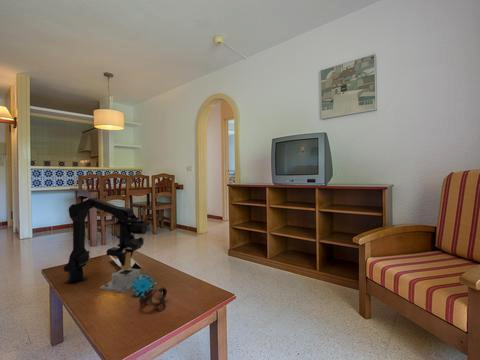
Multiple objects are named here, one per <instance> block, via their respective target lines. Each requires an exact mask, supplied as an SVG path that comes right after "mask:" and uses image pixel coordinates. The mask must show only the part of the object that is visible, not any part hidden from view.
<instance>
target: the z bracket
mask: <svg viewBox="0 0 480 360" xmlns="http://www.w3.org/2000/svg"><path fill="white" fill-rule="evenodd" d="M109 257H110V258H111V259H112V260H113V262H114V263H115V264H117V266H118V267H119V268H121V263H120V261H119V259H118V258H117V257H116V258H114V256H109ZM135 265H137V266H138V267H139V268H141V269H143V268H144V267H143V266H141V265H140V264H139V263H138V262H137V261H135V259H133V257H131V269H133V266H135Z"/></svg>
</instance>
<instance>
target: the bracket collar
mask: <svg viewBox="0 0 480 360" xmlns="http://www.w3.org/2000/svg"><path fill="white" fill-rule="evenodd" d="M144 275H145V276H144V277H143V279H145V278H146V277H147V275H148V274H144ZM137 276H140V277H139V280H141V278H142V273H140V269H137V268H129V269H127V270H123V269H120V270H118V271H115V272H114V273H112V274H111V281H109V282H107V283H105V284H103V285H101V286H100V287H99V289H100V290H104V291H108V292H109V291H110V292H115V293H116V292H117V293H122V294H123V293H124V294H125V293H127V292H128V291H130V290H132V289H133V288H131V285H132V284H134V286H136V284H135V283H133V282H132V281H133V280H134V279H135V280H136V282H138V280H137V278H136V277H137Z"/></svg>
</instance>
